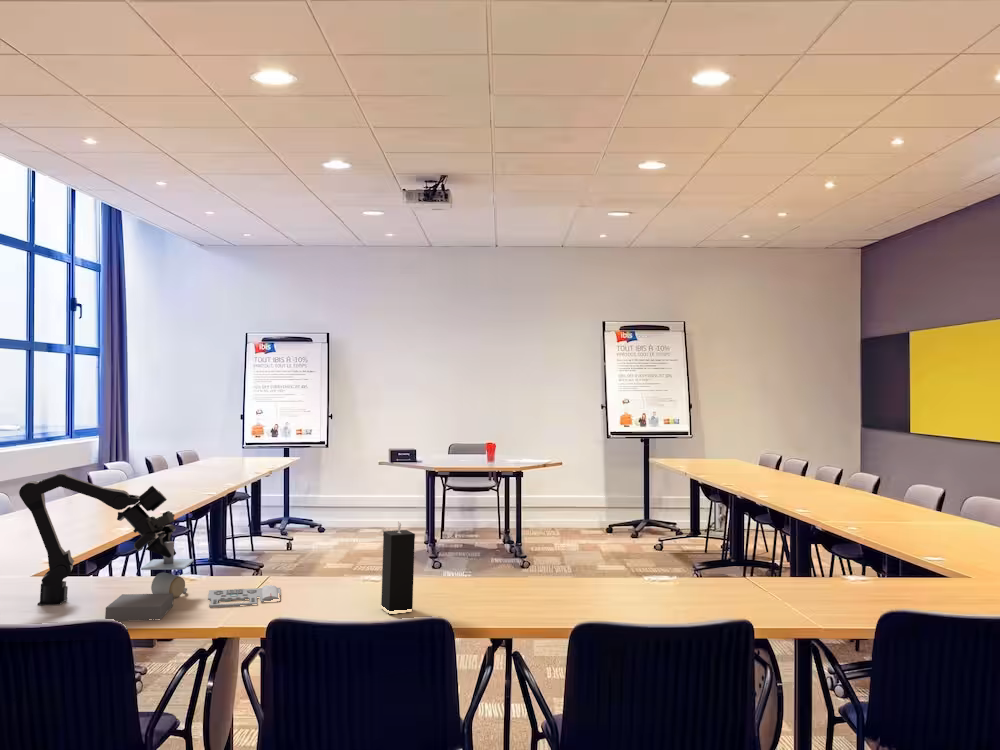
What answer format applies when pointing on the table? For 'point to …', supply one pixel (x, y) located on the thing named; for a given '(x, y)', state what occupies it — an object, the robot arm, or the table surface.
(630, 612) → the table surface
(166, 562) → the square plate with knob
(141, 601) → the gray square slab
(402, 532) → the black pillar candle
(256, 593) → the office telephone
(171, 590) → the ceramic mug
